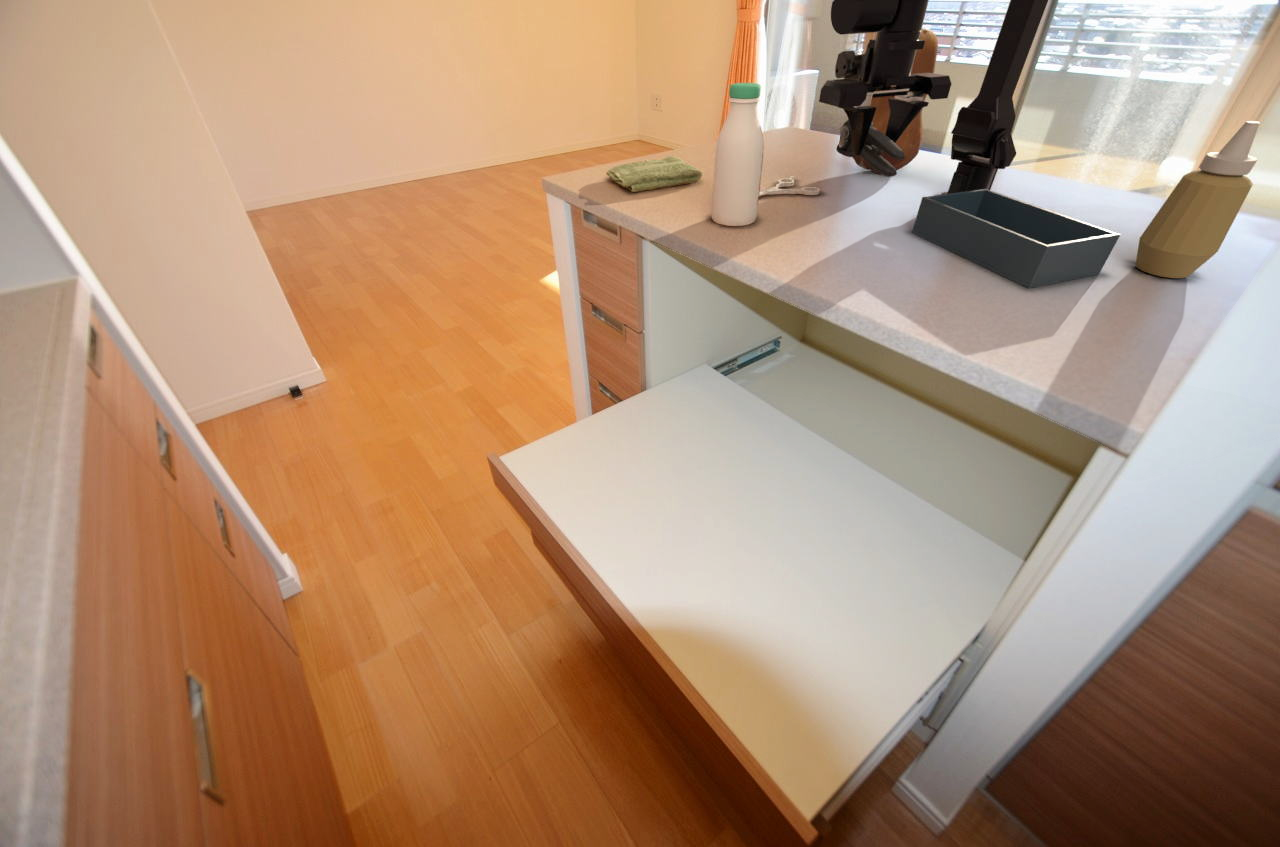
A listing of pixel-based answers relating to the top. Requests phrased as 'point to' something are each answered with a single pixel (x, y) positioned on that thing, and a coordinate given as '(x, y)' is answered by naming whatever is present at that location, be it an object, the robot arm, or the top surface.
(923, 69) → the butternut squash
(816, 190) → the scissors
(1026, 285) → the bin
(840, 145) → the can opener
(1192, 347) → the top surface
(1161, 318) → the top surface
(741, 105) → the milk bottle
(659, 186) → the washcloth
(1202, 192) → the squeeze bottle
